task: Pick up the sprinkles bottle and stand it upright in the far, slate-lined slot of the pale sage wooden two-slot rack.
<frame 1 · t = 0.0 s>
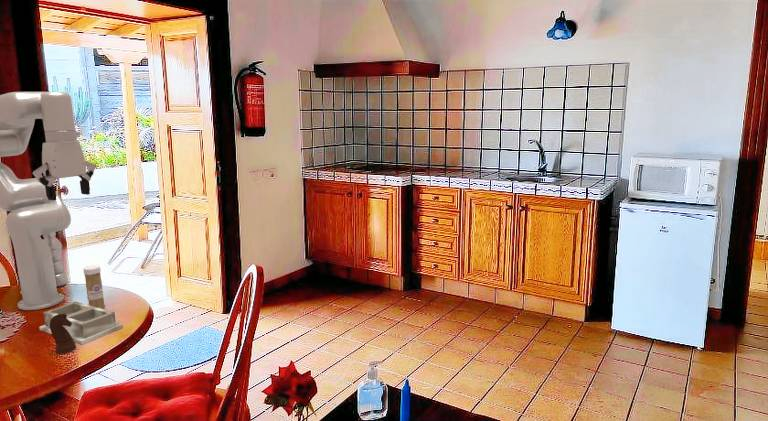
hand: (69, 197, 155), 37 cm above the table, tool pointing down, fingers open, 9 cm apart
sprinkles bottle: (97, 308, 170), on the table
plastic bottle: (57, 286, 190), on the table
slot rack: (81, 328, 154), on the table
chess piece: (65, 350, 141), on the table
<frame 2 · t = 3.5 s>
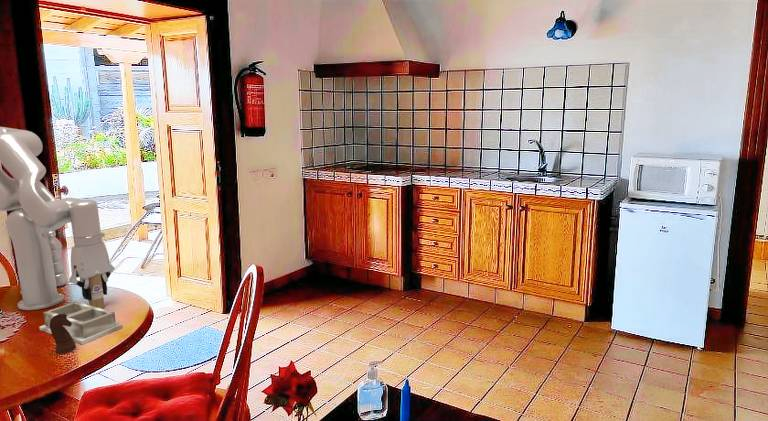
hand: (95, 296, 169), 4 cm above the table, tool pointing down, fingers closed on sprinkles bottle, 4 cm apart
sprinkles bottle: (97, 308, 170), on the table, touching gripper
everything else where it was.
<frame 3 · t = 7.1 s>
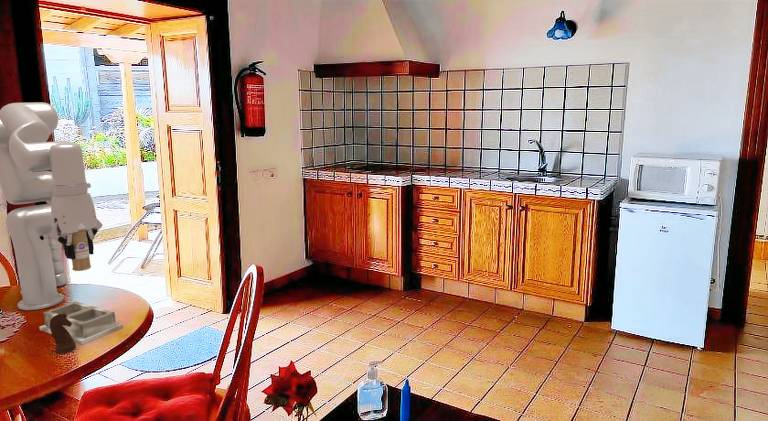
hand: (80, 255, 147), 22 cm above the table, tool pointing down, fingers closed on sprinkles bottle, 4 cm apart
sprinkles bottle: (82, 269, 148), point 18 cm above the table, touching gripper
everything else where it was.
when the fingers open (7 cm above the table, at t = 10.6 s): sprinkles bottle drops 1 cm, resting on slot rack.
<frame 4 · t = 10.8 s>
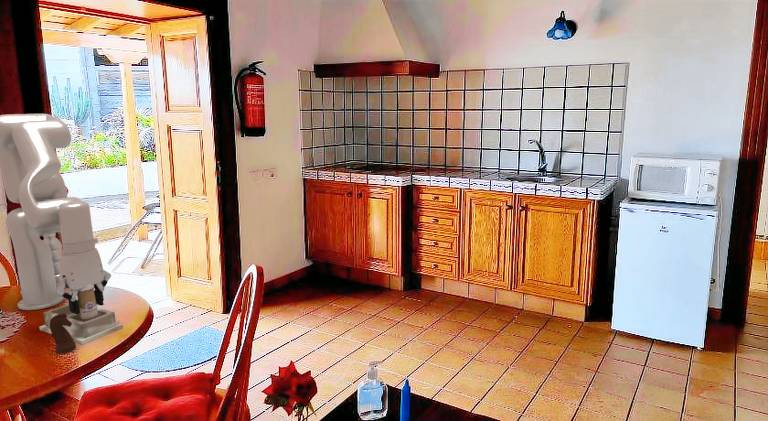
hand: (87, 308, 150), 7 cm above the table, tool pointing down, fingers open, 6 cm apart
sprinkles bottle: (91, 327, 152), point 1 cm above the table, touching slot rack
everything else where it was.
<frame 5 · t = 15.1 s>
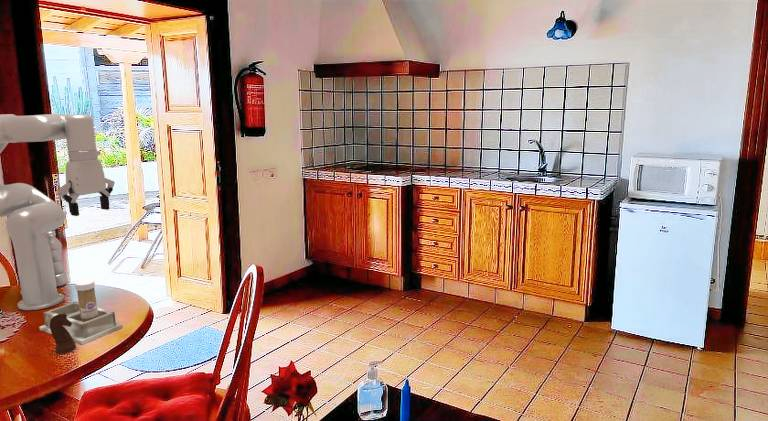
hand: (90, 212, 165), 30 cm above the table, tool pointing down, fingers open, 9 cm apart
nothing on the table moved.
at the end: sprinkles bottle 0.3 cm from the target spot on the slot rack, point 1.1 cm above the slot rack's base; sprinkles bottle tilted 0°; the gripper is holding nothing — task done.
